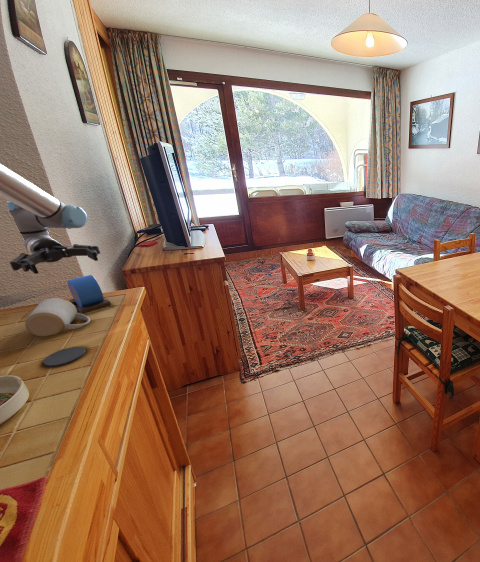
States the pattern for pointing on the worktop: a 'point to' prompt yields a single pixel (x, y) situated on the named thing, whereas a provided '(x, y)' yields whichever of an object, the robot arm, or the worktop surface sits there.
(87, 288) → the tape roll
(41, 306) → the ceramic mug
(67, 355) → the coaster
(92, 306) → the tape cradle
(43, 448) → the worktop surface
